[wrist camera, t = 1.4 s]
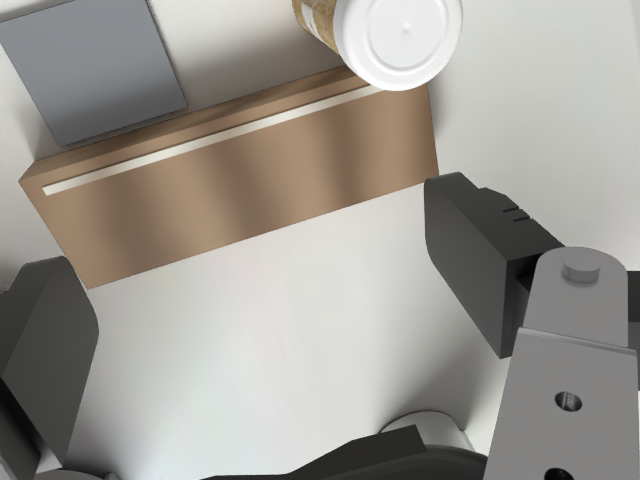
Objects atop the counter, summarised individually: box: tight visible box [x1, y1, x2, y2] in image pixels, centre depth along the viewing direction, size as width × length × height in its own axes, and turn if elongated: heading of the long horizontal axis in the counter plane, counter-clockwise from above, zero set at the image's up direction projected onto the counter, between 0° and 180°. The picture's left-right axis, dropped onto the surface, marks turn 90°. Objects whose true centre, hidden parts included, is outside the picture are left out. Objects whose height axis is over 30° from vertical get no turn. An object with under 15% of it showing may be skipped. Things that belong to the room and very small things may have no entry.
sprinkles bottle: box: [292, 0, 463, 91], centre depth 24 cm, size 5×5×14 cm
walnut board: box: [18, 65, 439, 290], centre depth 32 cm, size 24×8×3 cm, turn 104°
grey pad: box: [0, 0, 188, 147], centre depth 29 cm, size 8×7×1 cm
